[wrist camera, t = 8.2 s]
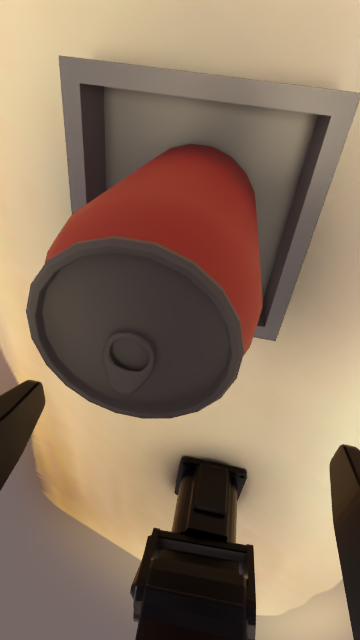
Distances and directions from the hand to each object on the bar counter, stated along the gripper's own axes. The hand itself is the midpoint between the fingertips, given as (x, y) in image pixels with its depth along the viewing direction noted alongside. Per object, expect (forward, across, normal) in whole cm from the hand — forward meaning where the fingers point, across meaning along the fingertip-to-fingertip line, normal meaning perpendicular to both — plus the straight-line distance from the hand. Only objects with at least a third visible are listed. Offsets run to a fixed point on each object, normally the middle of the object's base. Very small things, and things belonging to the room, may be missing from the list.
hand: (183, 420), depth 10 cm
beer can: (+12, +2, -3) cm, 12 cm away
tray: (+12, +2, -3) cm, 13 cm away
